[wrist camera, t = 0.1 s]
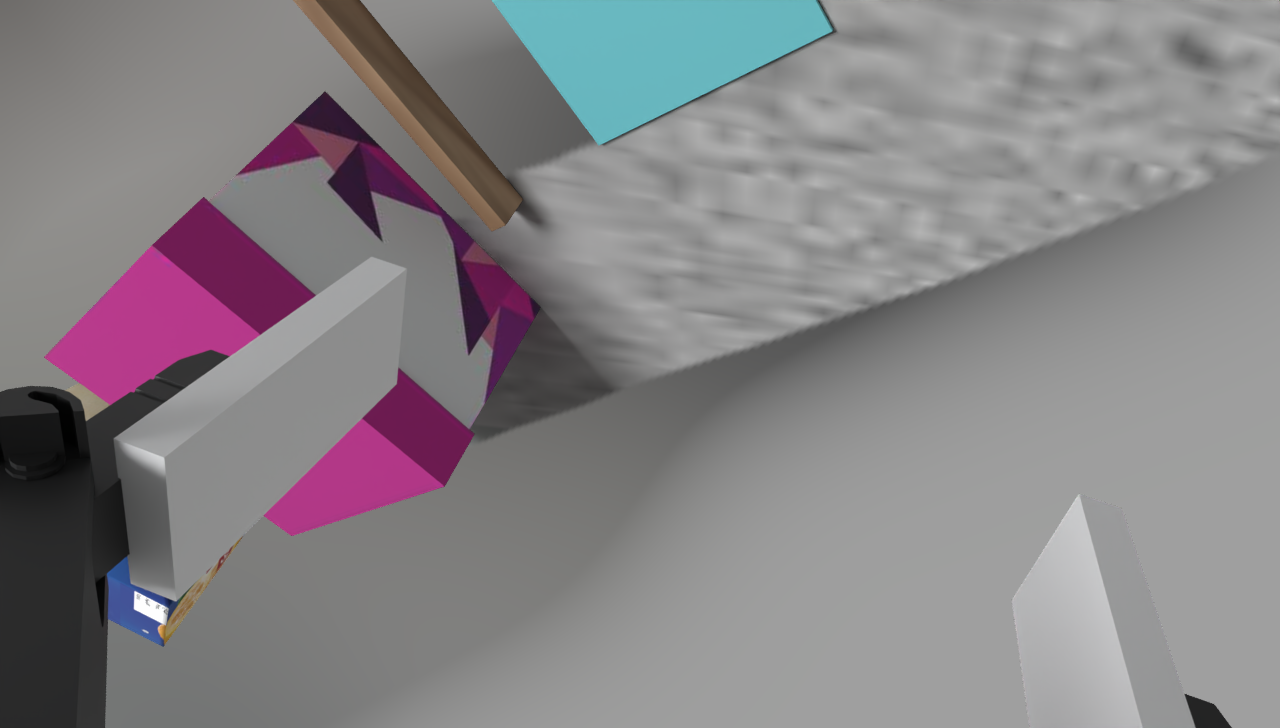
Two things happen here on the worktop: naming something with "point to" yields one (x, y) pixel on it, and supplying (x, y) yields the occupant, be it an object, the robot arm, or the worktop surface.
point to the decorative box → (294, 274)
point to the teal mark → (654, 50)
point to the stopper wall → (414, 106)
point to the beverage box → (152, 603)
